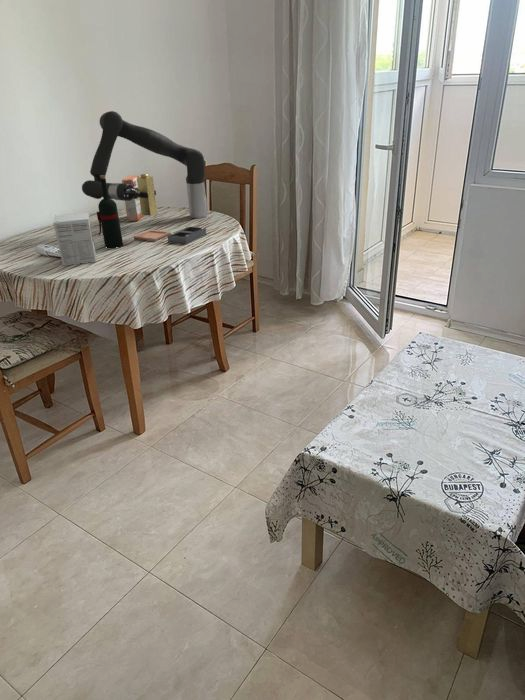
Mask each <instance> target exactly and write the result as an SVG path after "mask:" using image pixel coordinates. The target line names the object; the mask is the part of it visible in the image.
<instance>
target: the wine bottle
mask: <svg viewBox="0 0 525 700" xmlns="http://www.w3.org/2000/svg"><path fill="white" fill-rule="evenodd" d="M100 178H101V179H100V181H101V187H102V192H103V197H102V199H101V200H100V201H99V203H98V211H96V216H97V221H98V226H99V233H98V237H99V236H101V233H102V236H103V242H104V248H106V247H107V248H106V249H109V248H113V249H117V248H116V247H119V248H122V247H124V241H123V235H122V230H121V224H120V223H121V222H120V218H119V211H118V205H117V202H115V200H114V199H110V198H109V196H108V190H107V184H106V183H107V180H106V176H105V175H101V176H100ZM121 246H122V247H121Z"/></svg>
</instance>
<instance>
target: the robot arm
mask: <svg viewBox="0 0 525 700" xmlns="http://www.w3.org/2000/svg"><path fill="white" fill-rule="evenodd" d="M99 125H100V127H101V129H102V133H101V138H100V141H99V144H98V146H97V149H96V150H95V154H94V156H93V159H92V162H91V167H90V170H89V173H90V175H91V176H93V180H90V179H88V180H86V181H85V182H83V183H82V184H81V191H82V193H83V194H84V195H86V196H87V197H90V198H93V199H95V200H96V199H97V200H99V199H101V198H102V199H103V192H102V187H101V181H100V179H101V178H100V176H101V175H105V177H106V176H107V171H108V169H109V164H110V161H111V157H112V154H113V149H114V146H115V144H116V141H117V139H118V137H119V138H123V139H124V140H125V139H126V140H127V141H130V142H131V143H133V144H135V145H137V146H139V147H142V149H143V148H144V149H145V150H147V151H149V152H152V153H154V154H158V155H160V156H163V157H168V158H171V159H173V160H176V161H177V162H178V163H180V164H183V166H185V167H186V174H187V175H186V178H185V182H186V183H185V185H186V193H187V201H188V203H187V204H188V215H189V217H190V218H192V219H201V218H206V217H207V216H208V214H209V213H208V204H207V203H208V202H207V201H208V200H207V196H206V187H205V178H206V177H205V176H206V171H205V170H206V169H205V157H204V155H203V152H201V151H200V150H197V149H194V148H189V147H187V146H184V145H181V144H178V143H177V142H175V141H173V140H172V139H170V138H169V137H167V136H165V135H164V134H161V133H160V132H158V131H155V130H152V129H150V128H148V127H143V126H141V125H140V126H139V125H136V124H133V123H130V122H128V121H125V120H124V119H123V117H122V116H121V114H120V113H118V112H117V111H113V110H111V111H107V112H105V113H103V114H101V116H100V118H99ZM106 184H107V190H108V196H109V198H110V199H112V200H114V201H123V202H125V201H131V200H132V199H137V198H148V197H149V196H148V193H145V192H138V188H133V186H132V185H131V184H125V183H122V182H106ZM154 191H155V196H157V191H156V190H155V189H154Z"/></svg>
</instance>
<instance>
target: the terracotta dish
mask: <svg viewBox="0 0 525 700" xmlns="http://www.w3.org/2000/svg"><path fill="white" fill-rule="evenodd" d="M170 234H172V233H171V231H164V230H155V229H153V230H152V229H149V230H146V231H144V232H141V233H139V234H137V235H134V236H133V240H134V239H137V240H136V241H144V240H147V241H146V242H153V241H155V242H159V241H161V240H163V239H165V238H168V235H170ZM160 239H161V240H160ZM158 240H159V241H158ZM155 242H154V243H155Z"/></svg>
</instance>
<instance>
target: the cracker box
mask: <svg viewBox="0 0 525 700" xmlns="http://www.w3.org/2000/svg"><path fill="white" fill-rule="evenodd" d="M139 177H140V176H139V175H128V176H126V177H125V178H123V179H122V180H121V183H125V184H131V185H132V186H133V188H138V185H137V178H139ZM124 205H125V212H126V218H127V222H138V221H139V220H141V218H142V217H144V215H142V214H141V207H140V199H139V198H137V199H132V200H131V201H124Z"/></svg>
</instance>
